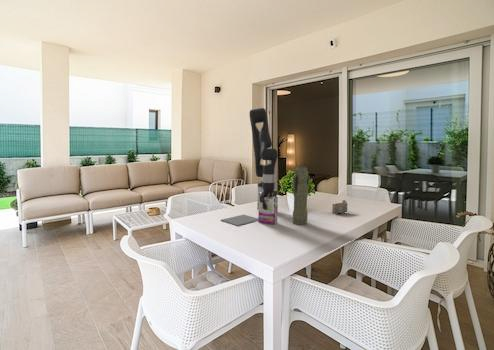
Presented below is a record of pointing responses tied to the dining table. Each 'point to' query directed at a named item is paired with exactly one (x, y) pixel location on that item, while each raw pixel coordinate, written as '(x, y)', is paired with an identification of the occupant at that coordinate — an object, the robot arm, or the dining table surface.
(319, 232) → the dining table surface
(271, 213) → the candy bar box
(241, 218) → the mat
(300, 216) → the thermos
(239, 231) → the dining table surface
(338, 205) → the architectural model on board
